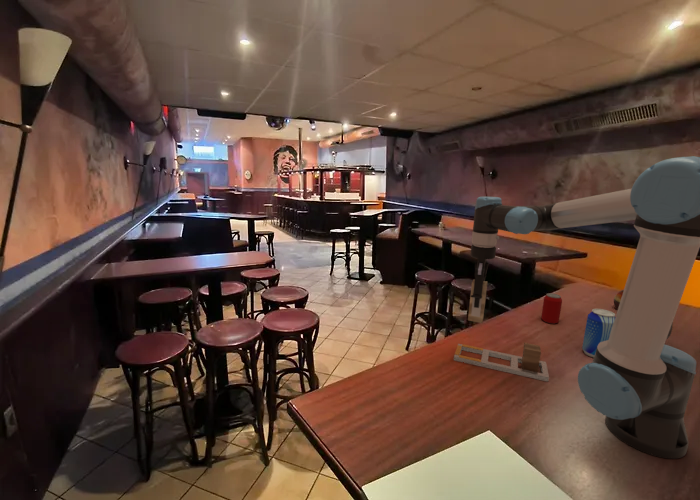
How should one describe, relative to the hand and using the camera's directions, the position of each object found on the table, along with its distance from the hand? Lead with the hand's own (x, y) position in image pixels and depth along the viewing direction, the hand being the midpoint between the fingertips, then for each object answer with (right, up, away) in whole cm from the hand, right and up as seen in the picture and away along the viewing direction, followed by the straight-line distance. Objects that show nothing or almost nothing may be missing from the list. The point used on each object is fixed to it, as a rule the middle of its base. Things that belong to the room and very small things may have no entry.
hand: (476, 313), depth 115 cm
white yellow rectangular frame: (+7, -17, 0) cm, 18 cm away
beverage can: (+45, -10, +35) cm, 58 cm away
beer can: (+45, -16, +7) cm, 48 cm away
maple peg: (0, -2, 0) cm, 2 cm away
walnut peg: (+16, -18, -4) cm, 24 cm away
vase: (+90, -8, +49) cm, 103 cm away
